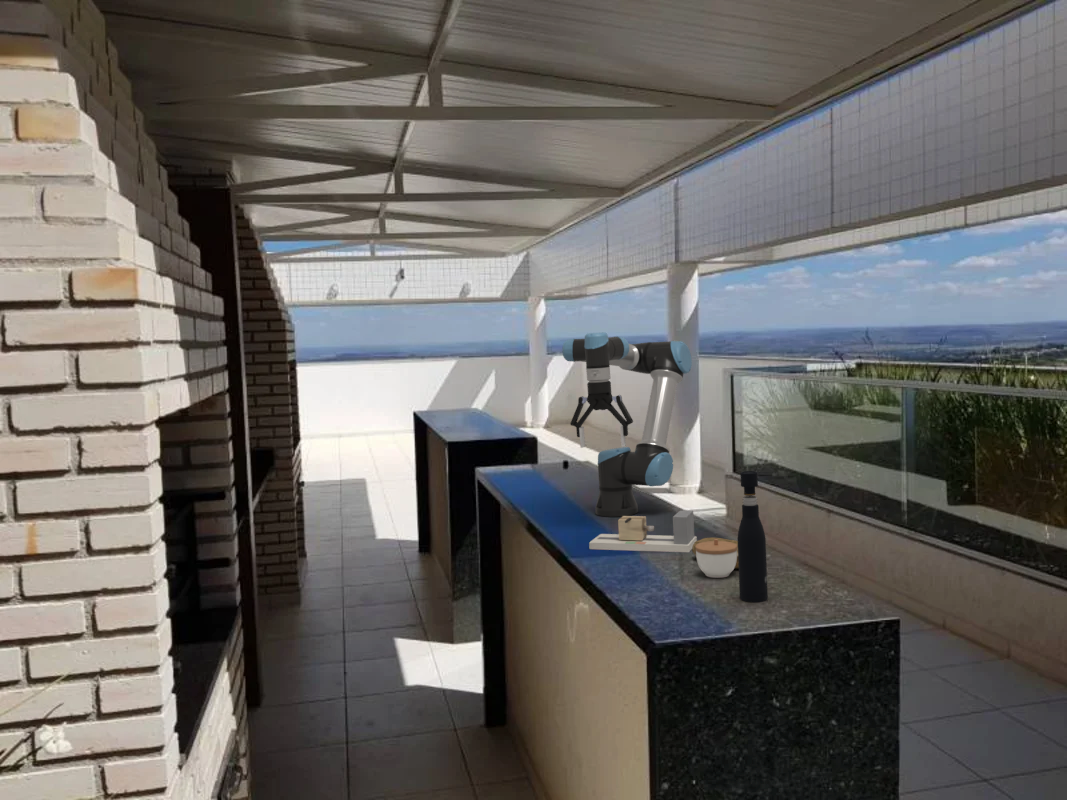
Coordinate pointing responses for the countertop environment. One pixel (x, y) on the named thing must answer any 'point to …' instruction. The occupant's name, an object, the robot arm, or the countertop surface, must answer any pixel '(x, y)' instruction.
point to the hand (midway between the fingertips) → (603, 446)
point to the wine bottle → (751, 545)
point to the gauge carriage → (633, 528)
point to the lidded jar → (716, 558)
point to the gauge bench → (654, 538)
